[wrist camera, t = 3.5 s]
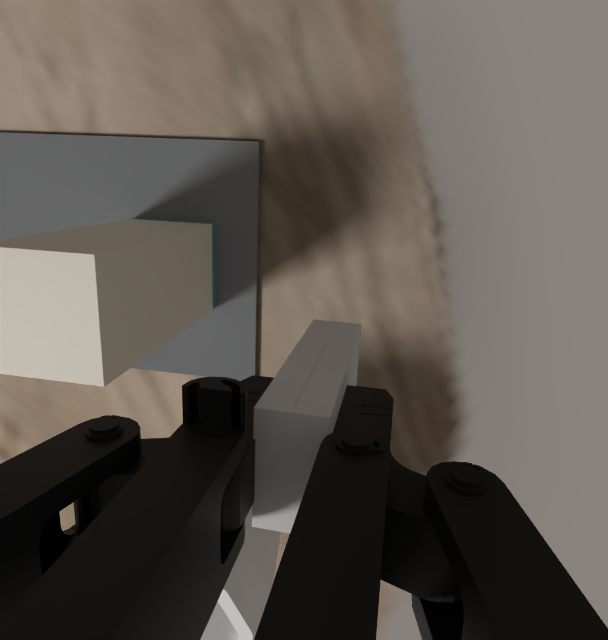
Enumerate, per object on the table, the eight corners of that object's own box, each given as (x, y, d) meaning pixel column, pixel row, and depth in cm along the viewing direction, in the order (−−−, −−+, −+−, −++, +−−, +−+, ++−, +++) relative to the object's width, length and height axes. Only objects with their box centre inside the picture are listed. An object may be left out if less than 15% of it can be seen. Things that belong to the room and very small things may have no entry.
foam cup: (168, 508, 36) (43, 683, 23) (181, 389, 33) (48, 517, 21) (299, 546, 34) (240, 752, 22) (324, 426, 32) (274, 585, 19)
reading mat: (-51, 344, 35) (-55, 346, 35) (-86, 129, 31) (-90, 129, 31) (256, 380, 32) (254, 382, 31) (260, 141, 28) (258, 141, 27)
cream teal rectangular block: (138, 300, 31) (-13, 372, 20) (134, 218, 30) (-31, 244, 19) (215, 307, 31) (103, 386, 19) (214, 223, 29) (94, 254, 18)
